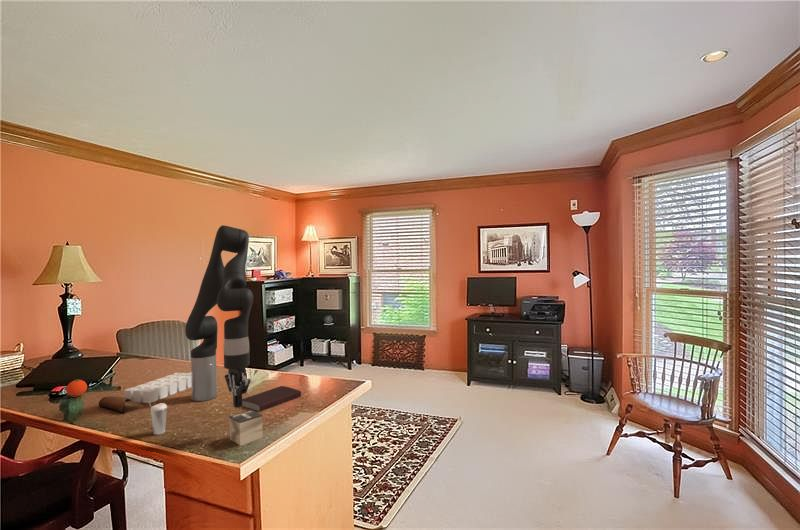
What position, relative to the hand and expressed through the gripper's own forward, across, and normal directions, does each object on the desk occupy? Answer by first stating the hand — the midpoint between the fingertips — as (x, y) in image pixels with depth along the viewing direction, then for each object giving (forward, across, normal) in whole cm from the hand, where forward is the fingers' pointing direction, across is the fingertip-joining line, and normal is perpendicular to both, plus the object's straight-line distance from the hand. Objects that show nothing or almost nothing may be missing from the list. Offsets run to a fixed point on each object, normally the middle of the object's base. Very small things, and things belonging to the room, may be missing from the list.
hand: (237, 406), depth 122 cm
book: (+9, +19, -23) cm, 31 cm away
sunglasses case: (+9, +61, +16) cm, 64 cm away
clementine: (+9, +94, +25) cm, 97 cm away
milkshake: (+9, +22, +16) cm, 28 cm away
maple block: (+2, -5, 0) cm, 6 cm away
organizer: (+9, +71, -5) cm, 71 cm away
